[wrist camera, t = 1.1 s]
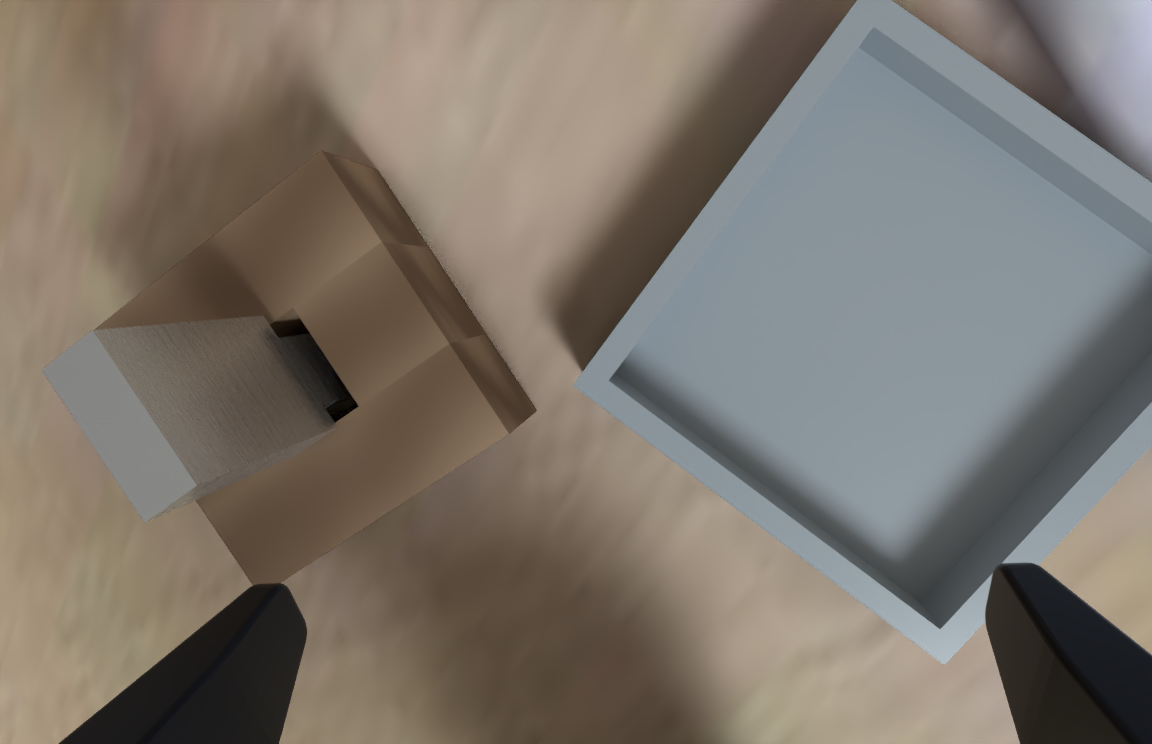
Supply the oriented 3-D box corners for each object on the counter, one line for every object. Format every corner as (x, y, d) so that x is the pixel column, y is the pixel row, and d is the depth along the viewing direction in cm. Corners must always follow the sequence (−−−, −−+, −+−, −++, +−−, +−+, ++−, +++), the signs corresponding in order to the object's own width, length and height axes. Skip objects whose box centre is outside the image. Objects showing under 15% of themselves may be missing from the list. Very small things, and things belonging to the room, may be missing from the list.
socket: (536, 410, 26) (509, 433, 22) (320, 551, 28) (259, 595, 24) (377, 169, 26) (321, 150, 22) (171, 328, 28) (85, 336, 24)
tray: (919, 627, 25) (944, 665, 23) (584, 375, 26) (572, 385, 23) (1233, 286, 22) (1300, 287, 20) (850, 15, 23) (868, -16, 21)
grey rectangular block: (396, 402, 27) (196, 485, 16) (362, 425, 27) (143, 522, 16) (334, 309, 27) (92, 329, 16) (300, 333, 27) (41, 370, 16)
